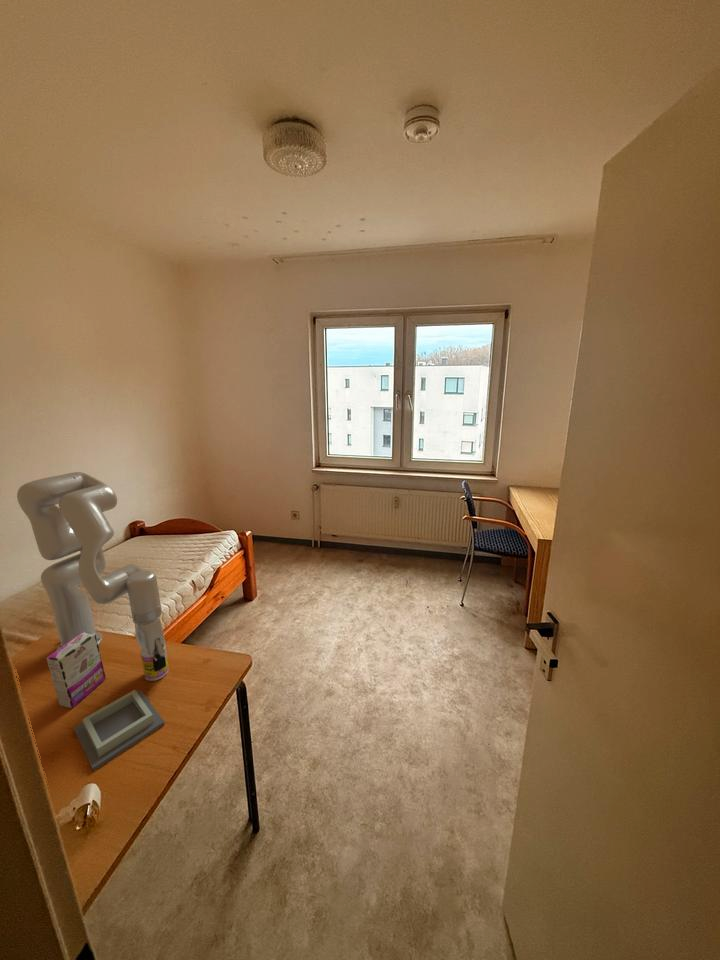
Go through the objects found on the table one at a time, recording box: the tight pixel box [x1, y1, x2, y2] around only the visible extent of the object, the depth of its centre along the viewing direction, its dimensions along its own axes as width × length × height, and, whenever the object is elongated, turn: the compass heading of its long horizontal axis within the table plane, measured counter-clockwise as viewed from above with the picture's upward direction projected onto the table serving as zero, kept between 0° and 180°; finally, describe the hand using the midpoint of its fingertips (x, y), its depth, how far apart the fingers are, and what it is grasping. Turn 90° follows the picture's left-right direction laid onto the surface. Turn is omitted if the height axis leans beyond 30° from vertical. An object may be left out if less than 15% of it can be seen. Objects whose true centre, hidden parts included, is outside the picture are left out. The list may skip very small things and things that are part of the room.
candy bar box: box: [45, 632, 107, 709], centre depth 106 cm, size 11×5×16 cm, turn 168°
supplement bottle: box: [140, 645, 169, 682], centre depth 113 cm, size 7×7×13 cm
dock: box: [73, 689, 165, 772], centre depth 96 cm, size 16×16×4 cm
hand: (155, 662), depth 114 cm, fingers closed on supplement bottle, 6 cm apart
